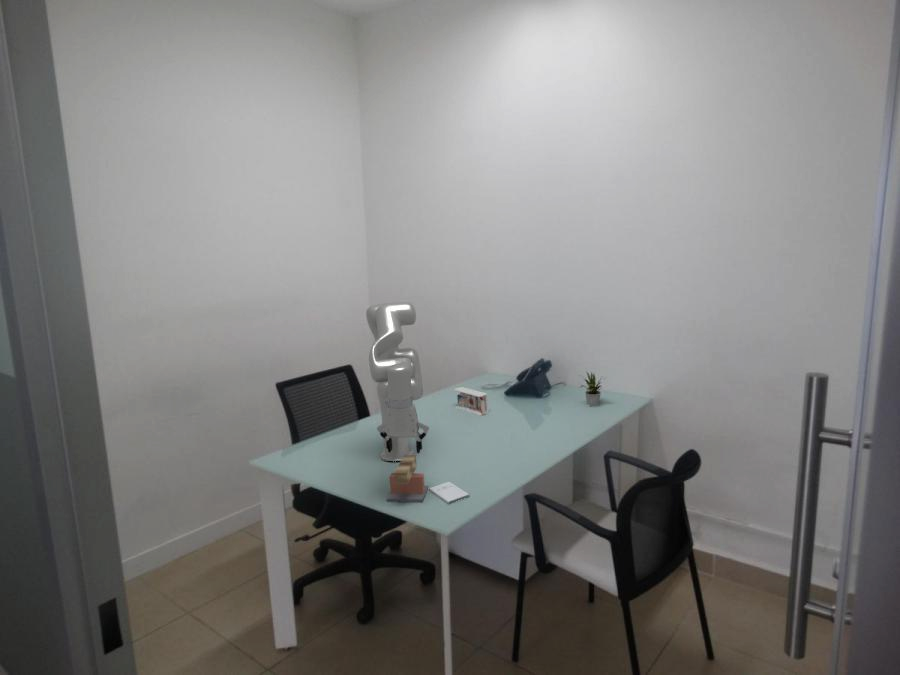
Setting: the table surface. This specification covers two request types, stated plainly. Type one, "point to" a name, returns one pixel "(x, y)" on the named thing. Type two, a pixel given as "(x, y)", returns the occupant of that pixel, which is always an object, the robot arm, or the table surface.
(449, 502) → the external hard drive
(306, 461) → the table surface
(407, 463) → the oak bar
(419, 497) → the fulcrum board
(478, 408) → the cigarette display
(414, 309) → the robot arm
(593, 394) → the house plant
